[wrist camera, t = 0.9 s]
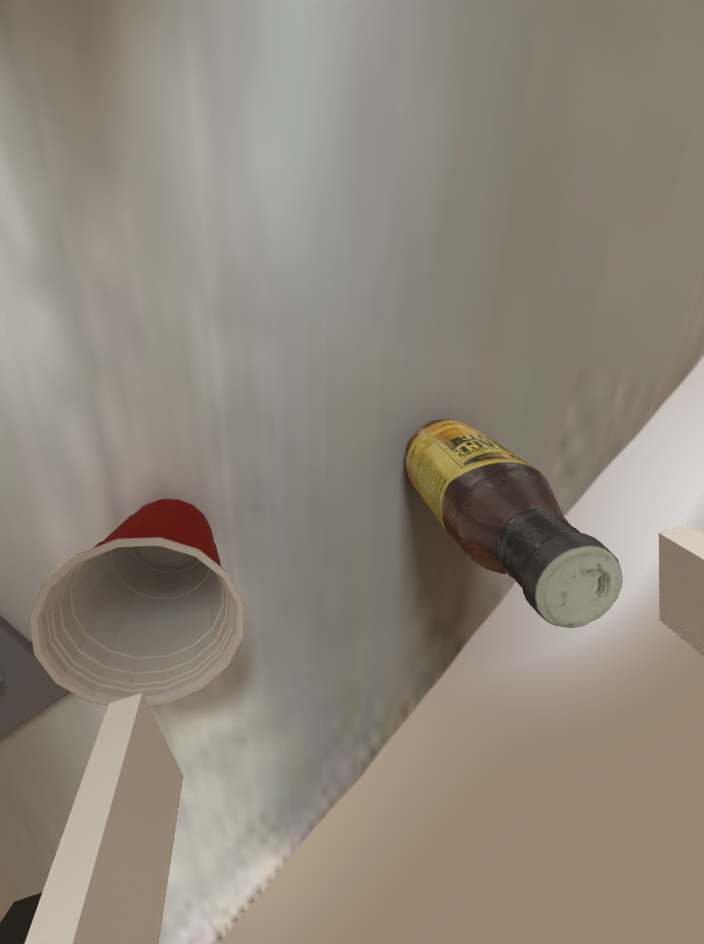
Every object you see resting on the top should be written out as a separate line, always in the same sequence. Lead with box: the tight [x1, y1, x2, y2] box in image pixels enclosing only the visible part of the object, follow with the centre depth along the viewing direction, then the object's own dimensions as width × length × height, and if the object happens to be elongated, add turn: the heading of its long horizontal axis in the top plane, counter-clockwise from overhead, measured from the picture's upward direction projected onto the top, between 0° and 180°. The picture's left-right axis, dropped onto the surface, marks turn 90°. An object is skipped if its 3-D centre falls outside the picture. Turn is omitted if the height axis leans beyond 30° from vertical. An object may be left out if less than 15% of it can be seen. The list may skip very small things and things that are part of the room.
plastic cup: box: [29, 499, 244, 706], centre depth 33 cm, size 11×11×12 cm
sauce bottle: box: [405, 419, 622, 628], centre depth 31 cm, size 7×6×20 cm
